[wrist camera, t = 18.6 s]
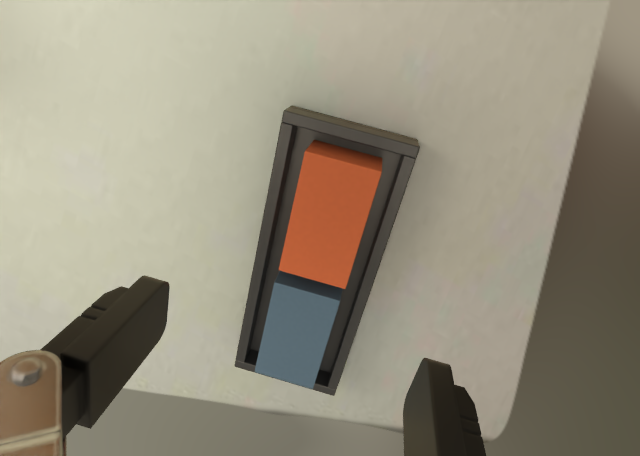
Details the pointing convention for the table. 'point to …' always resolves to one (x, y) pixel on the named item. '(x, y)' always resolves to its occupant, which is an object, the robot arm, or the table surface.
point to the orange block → (329, 212)
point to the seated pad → (297, 329)
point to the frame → (285, 174)
